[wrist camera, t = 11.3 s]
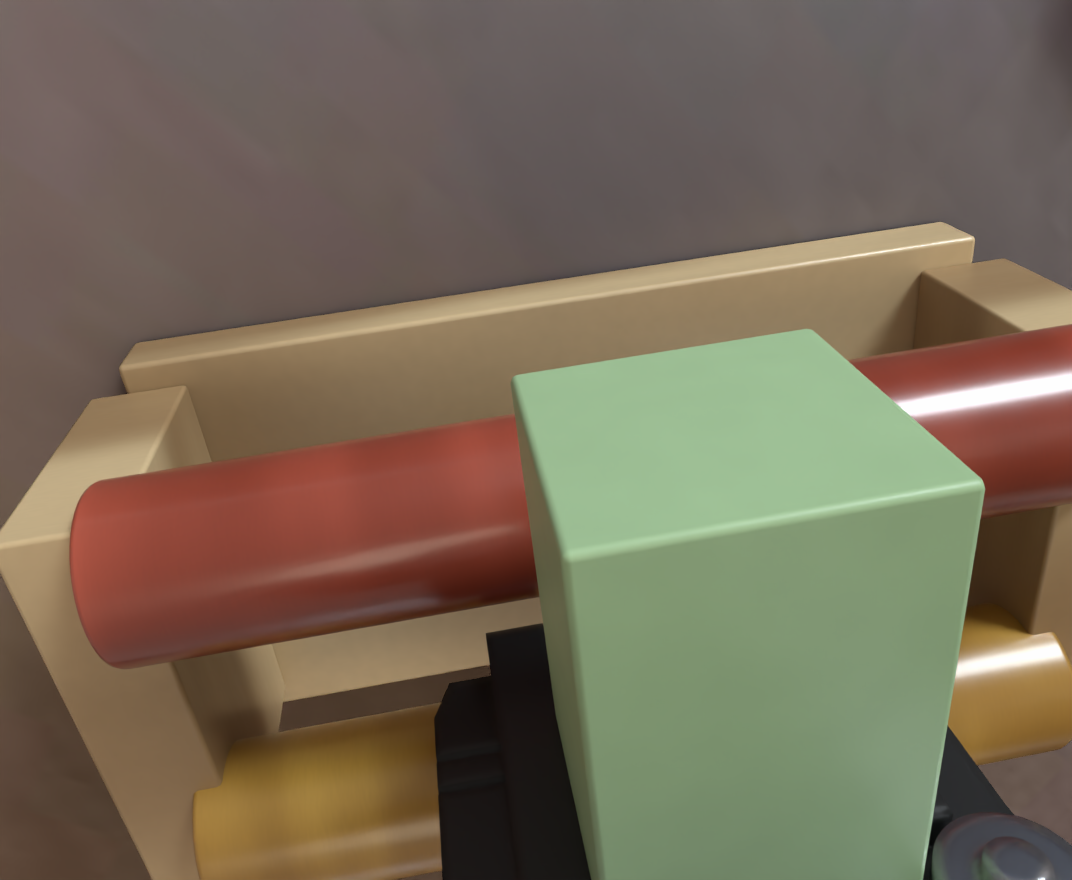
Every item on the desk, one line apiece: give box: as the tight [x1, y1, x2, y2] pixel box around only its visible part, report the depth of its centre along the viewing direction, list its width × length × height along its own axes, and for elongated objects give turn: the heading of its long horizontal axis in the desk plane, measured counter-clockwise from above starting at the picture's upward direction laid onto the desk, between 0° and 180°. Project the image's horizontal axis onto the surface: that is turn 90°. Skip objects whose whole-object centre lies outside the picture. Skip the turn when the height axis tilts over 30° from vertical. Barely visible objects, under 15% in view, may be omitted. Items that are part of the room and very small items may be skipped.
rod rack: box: [0, 222, 1072, 880], centre depth 13 cm, size 7×14×6 cm, turn 96°
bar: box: [510, 329, 985, 880], centre depth 9 cm, size 10×3×3 cm, turn 6°
